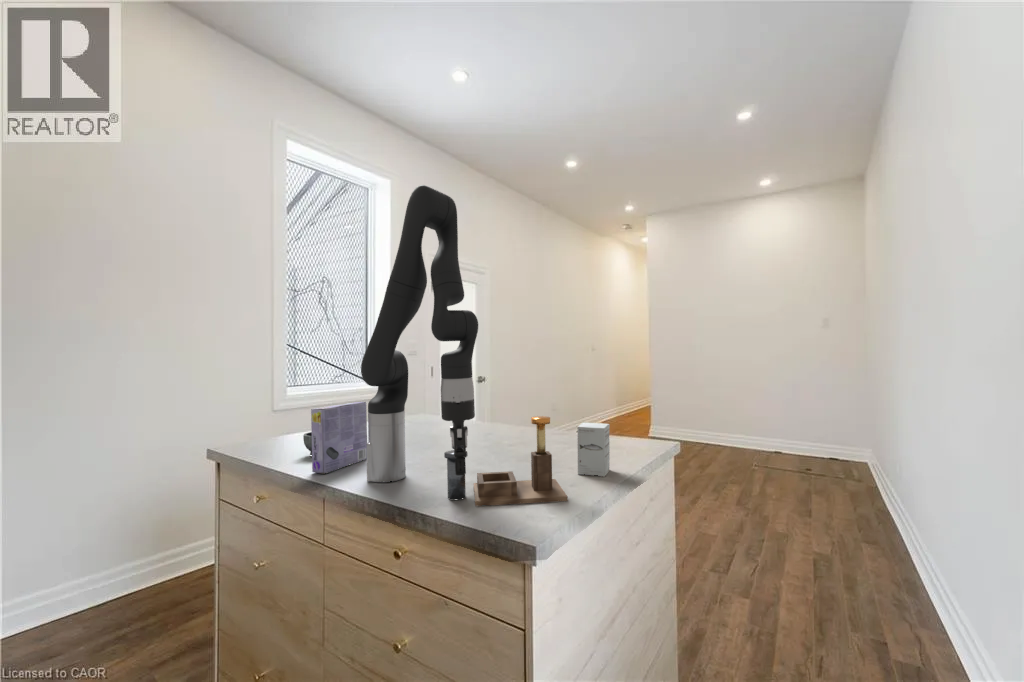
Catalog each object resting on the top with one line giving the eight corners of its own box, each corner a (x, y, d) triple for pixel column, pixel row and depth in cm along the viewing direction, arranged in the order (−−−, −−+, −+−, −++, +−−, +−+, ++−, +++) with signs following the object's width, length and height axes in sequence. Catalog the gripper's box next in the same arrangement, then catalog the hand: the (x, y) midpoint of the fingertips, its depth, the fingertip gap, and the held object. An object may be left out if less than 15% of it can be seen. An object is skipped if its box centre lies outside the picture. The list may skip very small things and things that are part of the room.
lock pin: (533, 463, 104) (532, 419, 104) (530, 458, 108) (529, 416, 108) (552, 462, 104) (551, 418, 104) (548, 457, 109) (548, 415, 109)
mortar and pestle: (321, 459, 140) (321, 420, 140) (296, 457, 143) (296, 419, 143) (345, 451, 151) (345, 414, 151) (322, 449, 154) (321, 413, 154)
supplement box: (576, 474, 120) (576, 426, 120) (583, 467, 127) (582, 421, 127) (605, 477, 117) (604, 427, 117) (610, 470, 124) (609, 422, 124)
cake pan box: (357, 457, 143) (357, 400, 143) (371, 458, 141) (370, 400, 141) (310, 473, 125) (309, 408, 125) (324, 475, 123) (323, 409, 123)
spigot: (444, 501, 101) (443, 456, 101) (445, 493, 106) (444, 450, 106) (468, 500, 102) (467, 454, 102) (468, 492, 107) (467, 449, 107)
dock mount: (475, 506, 98) (474, 463, 98) (473, 487, 111) (473, 449, 111) (567, 500, 100) (566, 459, 100) (555, 483, 113) (554, 446, 113)
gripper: (441, 395, 111) (443, 463, 111) (440, 402, 97) (443, 479, 97) (472, 394, 112) (474, 460, 112) (476, 400, 98) (478, 477, 98)
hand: (460, 469), depth 104 cm, fingers open, 8 cm apart
